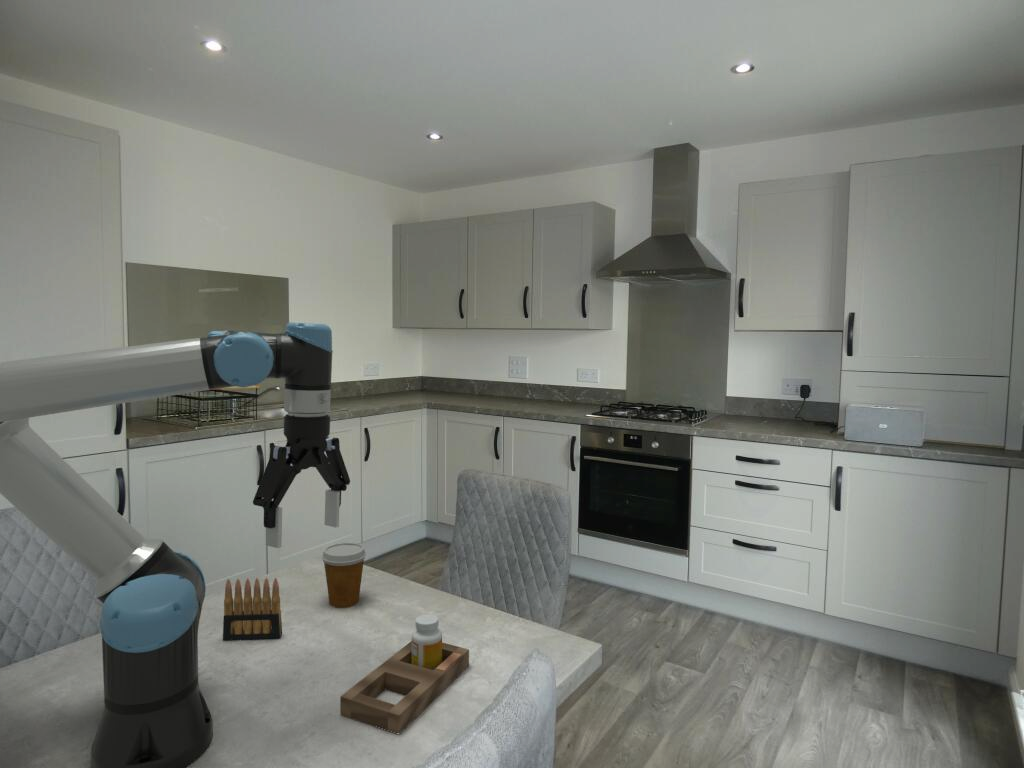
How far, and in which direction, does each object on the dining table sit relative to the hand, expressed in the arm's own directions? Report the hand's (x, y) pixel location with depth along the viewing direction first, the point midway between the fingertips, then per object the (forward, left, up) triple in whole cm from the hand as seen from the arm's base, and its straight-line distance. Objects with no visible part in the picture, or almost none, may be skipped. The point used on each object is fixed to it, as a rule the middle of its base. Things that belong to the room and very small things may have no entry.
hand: (304, 535), depth 109 cm
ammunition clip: (+5, +18, -25) cm, 31 cm away
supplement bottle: (+10, -19, -25) cm, 33 cm away
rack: (+4, -19, -25) cm, 31 cm away
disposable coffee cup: (+26, +13, -25) cm, 38 cm away
